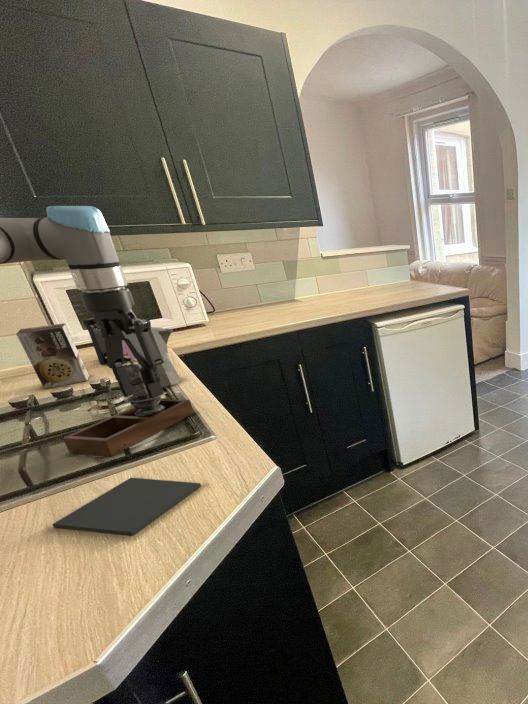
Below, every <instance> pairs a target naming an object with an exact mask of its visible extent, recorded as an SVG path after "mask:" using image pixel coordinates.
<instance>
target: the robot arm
mask: <svg viewBox="0 0 528 704" xmlns="http://www.w3.org/2000/svg"><path fill="white" fill-rule="evenodd" d="M45 212H46V217H0V265H6V264H16V263H23V262H32V261H35V262H36V261H55V260H57V261H60V260H61V261H63V260H65V262H66V264H67V266H68V269H69V272H70V274H71V278H72V279H73V283H74V285H75V288H76V289H77V290H79V291H82V292H80V294H79V297H80V299H81V302H82V304H83V306H84V309H85V310H86V312H89V313H93V315H92V318H87V319H83V320H82V324H83V325H84V326H85V328H86V330H87V331H88V334H89V337H90V340H91V342H92V345H93V348H94V350H95V353H96V356H97V359H98V361H99V364H100V365H102V366H107V367H108V368H109V369H111V371H112V373H113V375H114V377H115V380H116V381H117V383H118V385H119V388H120V390H121V393H122V395H123V397H124V398H127V397H128V398H129V397H131V396H133V389H132V386H131V384H129V383H128V381H130V380H129V377H128V375H127V372H126V367H127V366H128V365H129V364H128V363H129V362H126V361H124V357H125V356H124V355H123V347H122V340H123V341H125V342H126V343H127V345H128V347H129V348H130V350H131V351H132V353H133V354H134V356H135V357H136V359H137V361H138V362H139V364H140V365H141V367H142V368H141V369H139V371H140V373H141V376H142V379H143V381H144V384H145V387H146V389H147V392H148V395H149V398H155V397H157V396H162V395H164V394H165V392H164V390H163V389H164V388H162V386H161V383H160V376H159V374H158V371H157V366H158V365H160V364H163V363H164V361H163V358H162V356H161V353H160V351H159V348H158V346H157V343H156V341H155V338H154V336H153V333H152V331H151V327H152V324H151V320H150V319H149V318H144V319H142V318H139V317H137V315H136V314H135V313H134V312H133V307H135V304H136V303H135V300H134V297H133V295H132V292H131V289H129V288H127V286H128V282H127V279H126V276H125V273H124V270H123V267H122V265H121V262H120V260H119V257H118V254H117V251H116V248H115V244H114V242H113V239H112V236H111V230H110V228H109V227H108V225H107V223H106V221H105V217H104V216H103V213H102V211H101V210H100V209H98V208H97V207H95V206H90V205H50V206H47V207H46V209H45ZM132 332H133V334H132ZM128 334H130V335H128ZM105 357H107V358H105ZM137 361H136V362H137ZM138 362H137V363H138ZM146 362H147V363H146Z"/></svg>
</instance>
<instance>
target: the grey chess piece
mask: <svg viewBox="0 0 528 704" xmlns="http://www.w3.org/2000/svg"><path fill="white" fill-rule="evenodd" d="M127 365H128V366H127V367H126V372H127V375H128V377H129V380H130V381H128V383H129V384H131V386H132V389H133V395H131V396H128V398H127V402H129V404H130V405H132V407H135V408H138V409H139V410H137V411H136V412H135V415H136V416H146V415H151V414H155V413H158V412H160V411H162V410H164V408H165V407H164V406H162V405H157V404H159V402H160V400H161V399H162V395H160V396H157V397H155V398H149V395H148V392H147V389H146V387H145V384H144V381H143V379H142V376H141V373H140V371H139V369H141V368H142V367H141V365H140V364H138V363H135V362H134V361H132V360H131V361H129V364H127Z"/></svg>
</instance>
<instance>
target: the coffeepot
mask: <svg viewBox="0 0 528 704" xmlns="http://www.w3.org/2000/svg"><path fill="white" fill-rule="evenodd" d="M151 331H152V333H153V336H154V338H155V341H156V343H157V346H158V348H159V351H160V353H161V356H162V358H163V361H164V363H163V364H160V365H158V366H157V371H158V374H159V376H160V383H161V386H162V389H164V388H167V387H168V388H169V387H171V386H174V385H177V384H179V383H180V382H181V381H182V378H181V376H180V375H179V373H178V372H177V370H176V368H175V366H174V364H173V363H172V361H171V359H170V357H169V355H168V353H169V352H168V351H169V350H168V345H167V344H168V342H169V338H170V337H171V334H172V333H173V332H174V330H173V329H172V328H163V327H161V326H160V327H159V326H157V327H156V326H151ZM132 334H133V332H132ZM128 335H130V334H128ZM125 343H126V342H125ZM126 344H127V343H126ZM127 346H128V345H127ZM128 348H129V347H128ZM129 349H130V348H129ZM130 351H131V350H130ZM131 353H132V351H131ZM132 354H133V353H132ZM133 356H134V354H133ZM134 358H135V359H136V357H135V356H134ZM124 361H126V362H128V363H130V361H131V358H130V357H126V356H124ZM136 362H137V364H139V362H138V361H136ZM146 363H147V362H146Z"/></svg>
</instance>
